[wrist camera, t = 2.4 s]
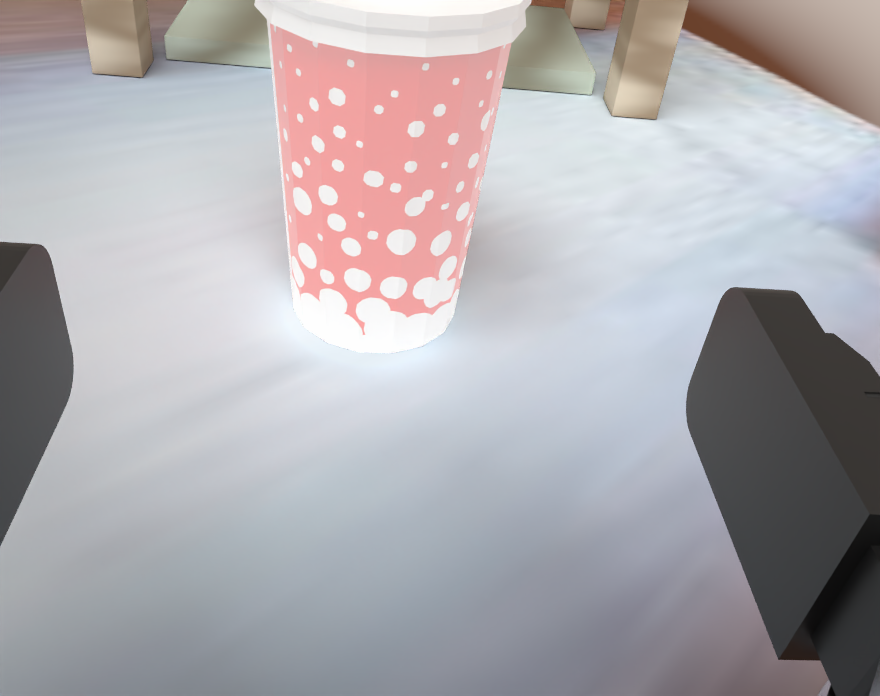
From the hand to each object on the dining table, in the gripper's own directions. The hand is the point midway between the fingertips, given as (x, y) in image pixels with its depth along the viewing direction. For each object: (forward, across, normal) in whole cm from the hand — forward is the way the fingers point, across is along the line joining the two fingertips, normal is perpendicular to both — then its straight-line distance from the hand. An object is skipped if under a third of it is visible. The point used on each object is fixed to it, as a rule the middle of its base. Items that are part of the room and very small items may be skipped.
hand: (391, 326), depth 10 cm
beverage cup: (+11, 0, +8) cm, 14 cm away
